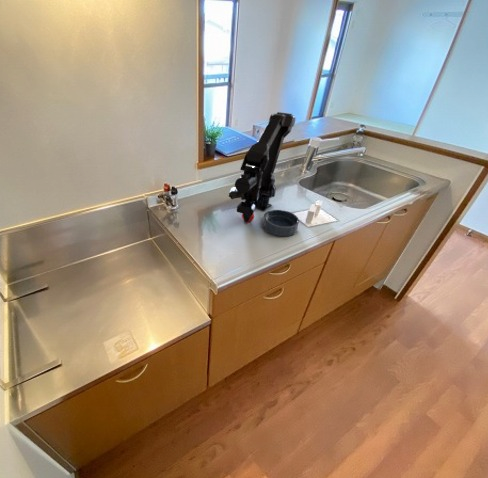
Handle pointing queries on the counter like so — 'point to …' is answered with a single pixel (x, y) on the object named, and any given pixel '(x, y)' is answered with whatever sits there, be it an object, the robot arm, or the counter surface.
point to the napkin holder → (314, 215)
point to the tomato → (249, 219)
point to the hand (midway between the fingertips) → (247, 218)
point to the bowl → (280, 222)
